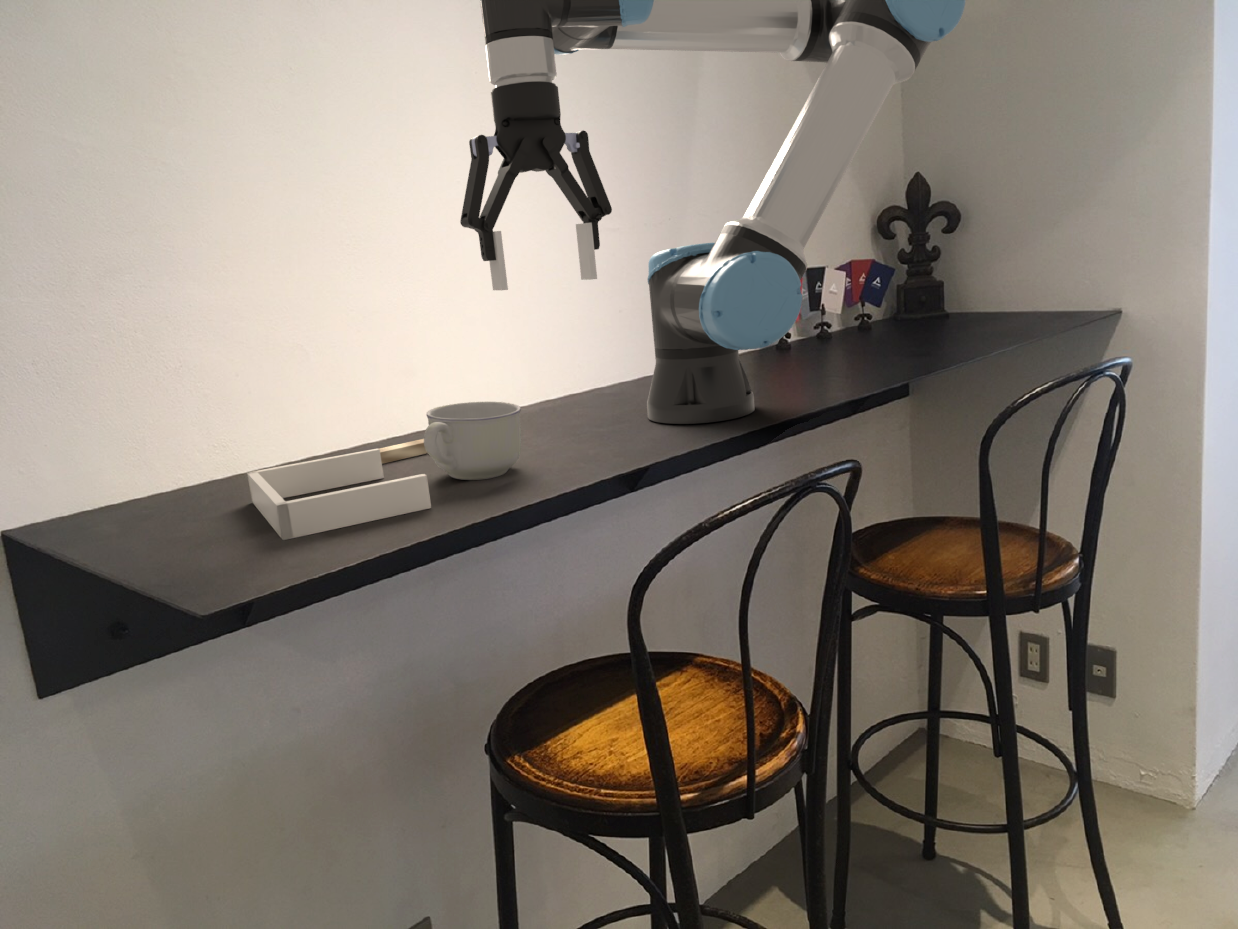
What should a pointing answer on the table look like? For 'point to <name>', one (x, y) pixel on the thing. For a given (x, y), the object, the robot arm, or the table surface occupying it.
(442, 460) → the teacup
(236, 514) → the table surface
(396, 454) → the birch bar
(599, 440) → the table surface
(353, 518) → the tray
